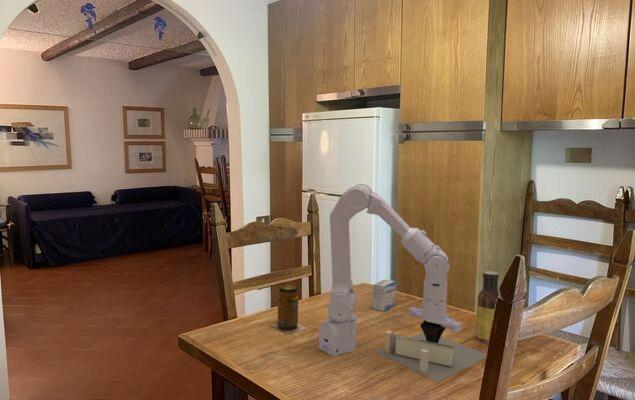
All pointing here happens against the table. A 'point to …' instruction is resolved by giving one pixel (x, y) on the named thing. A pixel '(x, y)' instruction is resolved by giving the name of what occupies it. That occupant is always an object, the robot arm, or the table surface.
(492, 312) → the sauce bottle
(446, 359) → the gate
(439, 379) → the grey square baseplate
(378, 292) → the medicine box
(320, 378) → the table surface
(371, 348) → the table surface
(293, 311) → the condiment
